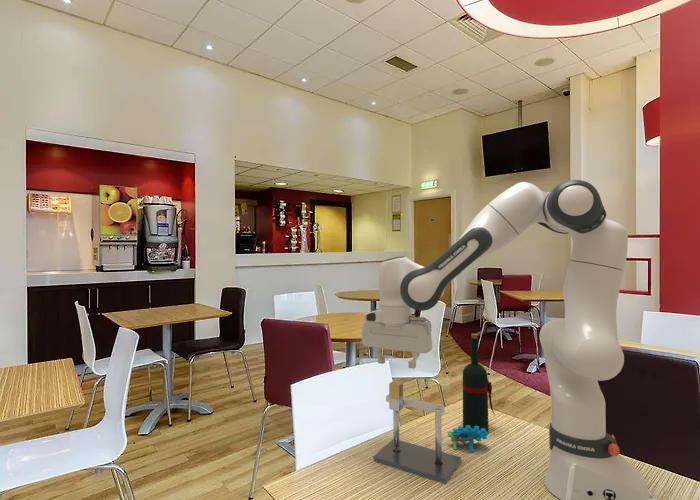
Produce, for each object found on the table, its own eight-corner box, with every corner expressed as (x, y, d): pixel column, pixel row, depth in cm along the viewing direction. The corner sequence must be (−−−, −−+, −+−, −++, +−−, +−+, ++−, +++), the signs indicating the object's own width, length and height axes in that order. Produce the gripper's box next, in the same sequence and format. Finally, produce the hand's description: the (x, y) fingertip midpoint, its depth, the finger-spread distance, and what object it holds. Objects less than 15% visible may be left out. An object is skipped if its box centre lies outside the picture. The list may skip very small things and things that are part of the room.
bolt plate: (461, 461, 105) (460, 457, 105) (445, 484, 94) (445, 478, 94) (393, 442, 115) (393, 438, 115) (373, 460, 105) (373, 456, 105)
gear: (488, 436, 115) (486, 422, 109) (491, 458, 111) (489, 444, 105) (450, 437, 118) (445, 423, 112) (451, 458, 114) (447, 445, 108)
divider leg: (403, 448, 108) (402, 383, 109) (399, 451, 106) (399, 385, 107) (393, 445, 110) (393, 381, 110) (389, 448, 108) (389, 383, 108)
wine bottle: (499, 435, 120) (498, 336, 120) (466, 435, 120) (465, 336, 120) (490, 424, 127) (489, 331, 128) (459, 424, 128) (458, 331, 128)
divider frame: (446, 458, 104) (445, 405, 104) (440, 465, 101) (440, 411, 101) (389, 442, 113) (389, 394, 113) (382, 448, 110) (382, 398, 110)
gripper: (435, 316, 106) (436, 367, 105) (369, 311, 117) (370, 358, 117) (426, 319, 100) (427, 373, 100) (358, 314, 111) (359, 363, 111)
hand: (396, 365), depth 108 cm, fingers open, 8 cm apart
